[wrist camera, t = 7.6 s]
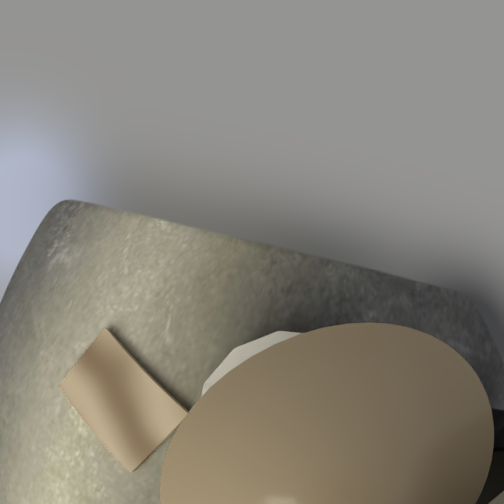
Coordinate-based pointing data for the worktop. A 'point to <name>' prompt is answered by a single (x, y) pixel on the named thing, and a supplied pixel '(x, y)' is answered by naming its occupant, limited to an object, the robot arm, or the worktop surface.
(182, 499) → the spice jar
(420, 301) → the worktop surface
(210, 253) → the worktop surface
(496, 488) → the robot arm
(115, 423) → the cork coaster
